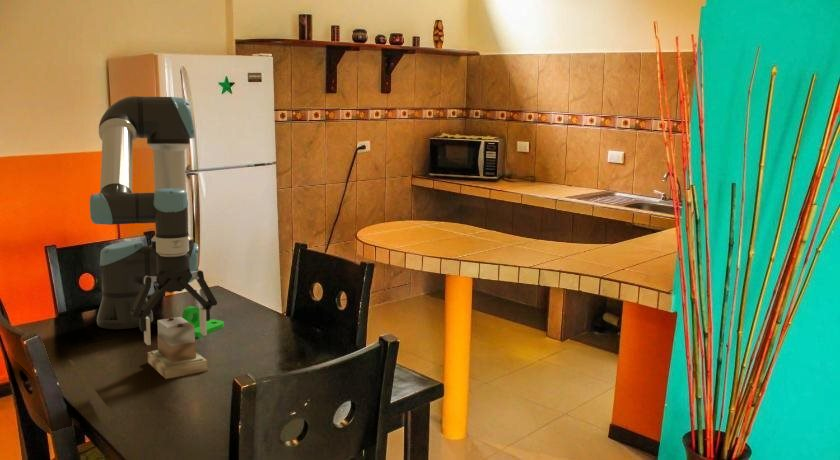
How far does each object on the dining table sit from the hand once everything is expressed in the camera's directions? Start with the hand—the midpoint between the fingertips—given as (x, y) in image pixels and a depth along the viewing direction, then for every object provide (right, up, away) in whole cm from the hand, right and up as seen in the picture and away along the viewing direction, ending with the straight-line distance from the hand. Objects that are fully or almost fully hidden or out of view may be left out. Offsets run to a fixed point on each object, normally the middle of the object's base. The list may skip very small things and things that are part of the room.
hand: (176, 338), depth 181 cm
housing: (0, -4, 0) cm, 4 cm away
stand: (0, -7, +1) cm, 7 cm away
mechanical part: (-1, -3, +30) cm, 30 cm away
